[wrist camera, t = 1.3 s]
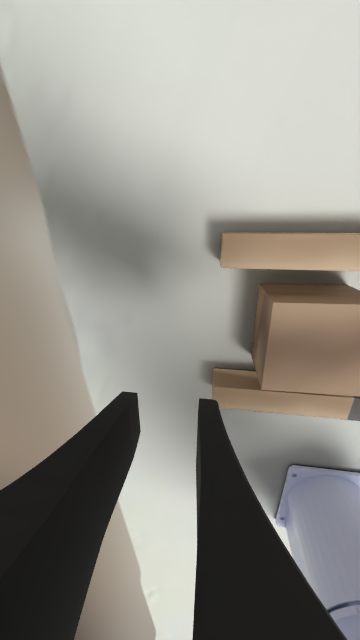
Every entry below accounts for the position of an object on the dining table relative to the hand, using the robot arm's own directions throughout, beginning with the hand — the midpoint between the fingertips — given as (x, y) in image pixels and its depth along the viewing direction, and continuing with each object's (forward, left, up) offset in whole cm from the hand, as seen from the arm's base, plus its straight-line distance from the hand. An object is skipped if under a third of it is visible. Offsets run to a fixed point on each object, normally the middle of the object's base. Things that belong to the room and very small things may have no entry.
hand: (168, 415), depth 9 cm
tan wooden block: (0, -8, -11) cm, 13 cm away
